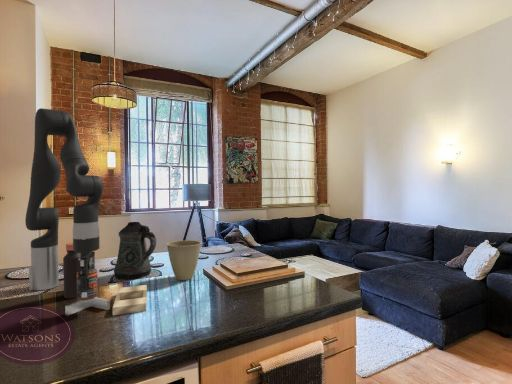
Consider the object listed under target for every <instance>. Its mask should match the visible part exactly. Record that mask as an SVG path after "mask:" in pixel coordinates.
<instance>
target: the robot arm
mask: <svg viewBox="0 0 512 384" xmlns="http://www.w3.org/2000/svg"><path fill="white" fill-rule="evenodd" d="M49 136H59V137H64V138H65V139H66V140H65V142H64V144H63V145H62V147H61V149H60V152H59V159H60V162H61V164H62V166H63V169H64V170H65V178H66V179H65V180H66V182H65V189H66V191H67V193H68V194H69V195H70V196H72V197H75V198H82V197H83V198H85V197H87V200H86V201H85V202H84V203H83V202H82V203H79V204H76V205H74V207H73V211H72V213H73V218H72V219H73V225H72V243H73V251H74V252H80V253H81V256H80V257H79V260H78V261H77V263H78V279H81V291H86V290H88V289H89V277H90V276H89V272H90V271H91V269H92V262H93V263H94V268H95V269H96V267H95V263H96V262H95V261H96V259H95V258H96V257H95V254H96V252H95V251H98V250H99V249H100V225H99V209H100V208H99V206H100V203H101V198H102V196H103V191H104V189H105V187H104V181H103V179H102V178H101V177H100V176H98V175H93V174H92V175H90V174H89V172H90V166H89V163H88V161H87V159H86V157H85V155H84V153H83V150H82V148H81V144H80V141H79V137H78V136H79V135H78V132H77V128H76V125H75V122H74V119H73V117H72V115H71V114H70V113H69V112H68V111H65V110H58V109H50V108H38V109H37V110H36V113H35V116H34V144H33V145H34V147H33V148H34V149H33V158H32V164H31V172H30V187H29V188H30V189H29V197H28V202H27V208H26V213H25V221H24V222H25V228H26V229H27V230H28V231H34V232H35V231H44V230H47V231H46V233H44V234H43V235H41V236H38V237H36V238H34V239H32V240H31V241H30V266H29V267H28V273H29V274H28V278H29V283H28V287H29V291H45V290H50V289H53V288H57V287H58V286H59V283H60V278H59V222H60V221H59V217H60V215H59V211H58V209H57V208H56V207H51V206H50V207H49V206H48V207H40V206H41V205H42V203H43V201H44V200H45V199H46V198H47V197H48V196H49V195H50V194H51V193H52V192H53V191H54V190H56V188H57V187H58V185H59V184H60V179H61V173H62V166H61V164H60V162H59V161H58V159H57V157H56V156H55V155H54V153H53V152H52V150H51V148H50V146H49V142H48V137H49ZM87 174H89V175H87ZM88 267H89V268H88ZM83 272H85V274H83Z"/></svg>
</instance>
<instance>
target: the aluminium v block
mask: <svg viewBox="0 0 512 384" xmlns="http://www.w3.org/2000/svg"><path fill="white" fill-rule="evenodd" d="M64 307H65V308H64V309H65V314H64V315H65V316H70V315H72V314H75V313H78V312H81V311H82V310H86V309H88V308H90V307H93V308H95V309H96V308H97V309H100V310H101V309H102V310H105V311H108V310H110V309H111V300H110V299H107V298H101V297H98V295H97V296H96V297H95V298H93V299H90V300H77V301H74V302H72V303H68V304H66V305H65V306H64Z"/></svg>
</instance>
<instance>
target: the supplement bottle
mask: <svg viewBox="0 0 512 384" xmlns="http://www.w3.org/2000/svg"><path fill="white" fill-rule="evenodd" d="M88 268H89V267H88ZM83 274H85V272H83ZM89 276H90V277H89V289H88V290H86V291H81V279H78V272H77V298H76V299H77V301H80V300H90V299H93V298H95V297H96V296H97V297H98V292H99V291H98V289H99V288H98V287H99V286H98V285H99V284H98V282H99V281H98V269H97V268H96V267H95V268H94V263H93V262H92V269H91V271H90V272H89Z"/></svg>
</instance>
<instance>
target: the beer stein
mask: <svg viewBox="0 0 512 384" xmlns="http://www.w3.org/2000/svg"><path fill="white" fill-rule="evenodd" d="M155 235H156V234H154V232H151V231H150V228H149V226H147V225H142V224H141V223H140V222H139V221H129V222H127V224H126V226H125V227H123V228H122V229H121V230H120V231H119V232H118V237H119V246H118V252H117V259H116V261H115V262H116V263H115V266H114V268H113V273H114V278H115V279H116V280H121V281H129V280H130V281H131V280H139V279H143V278H146V277H148V276H149V275H150V274H151V271H152V265H151V262H150V256H151V255H152V254H153V252H154V251H155V249H156V246H157V238H156V236H155ZM146 239H148V240H149V247H148V248H147V241H146Z"/></svg>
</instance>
